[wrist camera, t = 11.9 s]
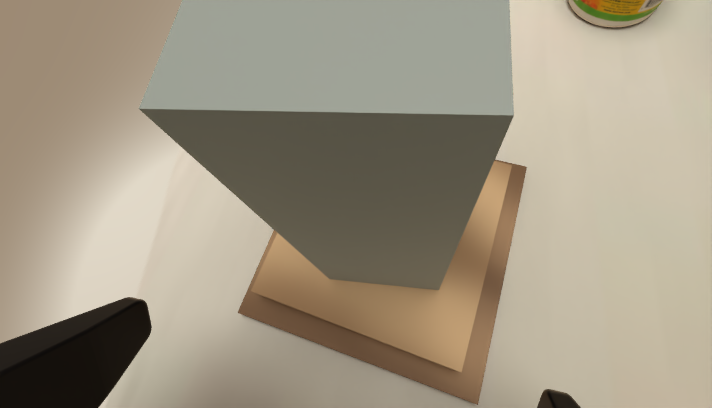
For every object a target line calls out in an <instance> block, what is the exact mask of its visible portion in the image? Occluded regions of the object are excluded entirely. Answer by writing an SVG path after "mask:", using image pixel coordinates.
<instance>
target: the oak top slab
mask: <svg viewBox="0 0 712 408" xmlns="http://www.w3.org/2000/svg"><path fill="white" fill-rule="evenodd" d="M511 168H512V165H509V164H505V163H501V162H497V161H494V163H493V165H492V167H491V170H490V172H489V174H488V177H487V179H486V181H485V184H484V186H483V188H482V191H481V193H480V195H479V198H478V200H477V202H476V205H475V207H474V209H473V212H472V214H471V216H470V219H469V221H468V223H467V226H466V228H465V230H464V233H463V235H462V237H461V240H460V242H459V244H458V247H457V249H456V251H455V254H454V256H453V258H452V261H451V263H450V265H449V268H448V270H447V272H446V275H445V277H444V279H443V282H442V284H441V286H440V289H439V290H432V289H422V288H412V287H402V286H392V285H382V284H372V283H363V282H353V281H343V280H333V279H329V278H328V277H327V276H325V275H324V274H323V273H322V272H321V271H320V270H319V269H318V268H316V267H315V266H314V265H313V264H312V263H311V262H310V261H309V260H308V259H306V258H305V257H304V256H303V255H302V254H301V253H300V252H299V251H297V250H296V249H295V248H294V247H293V246H292V245H291V244H290V243H288V242H287V241H286V240H285V239H284V238H283V237H282V236H281V235H280V234H278V233H277V235H276V237H275V239H274V241H273V243H272V246H271V248H270V250H269V252H268V254H267V257H266V259H265V261H264V263H263V265H262V267H261V270H260V272H259V274H258V276H257V278H256V281H255V283H254V285H253V287H252V289H251V291H252V292H254V293H257V294H259V295H261V296H264V297H266V298H269V299H272V300H274V301H277V302H279V303H282V304H285V305H287V306H290V307H292V308H295V309H297V310H300V311H303V312H305V313H308V314H310V315H313V316H316V317H318V318H321V319H323V320H326V321H329V322H331V323H334V324H336V325H339V326H341V327H344V328H347V329H349V330H352V331H354V332H357V333H360V334H362V335H365V336H367V337H370V338H372V339H375V340H378V341H380V342H383V343H385V344H388V345H391V346H393V347H396V348H398V349H401V350H403V351H406V352H409V353H411V354H414V355H416V356H419V357H422V358H424V359H427V360H429V361H432V362H434V363H437V364H440V365H442V366H445V367H447V368H450V369H453V370H455V371H458V372H461V373H462V369H463V365H464V361H465V356H466V352H467V348H468V344H469V340H470V336H471V332H472V328H473V324H474V320H475V315H476V311H477V307H478V303H479V299H480V295H481V291H482V287H483V283H484V279H485V275H486V270H487V266H488V262H489V258H490V254H491V250H492V246H493V242H494V238H495V234H496V229H497V225H498V221H499V217H500V213H501V209H502V205H503V201H504V197H505V193H506V188H507V184H508V180H509V176H510V172H511Z"/></svg>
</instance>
